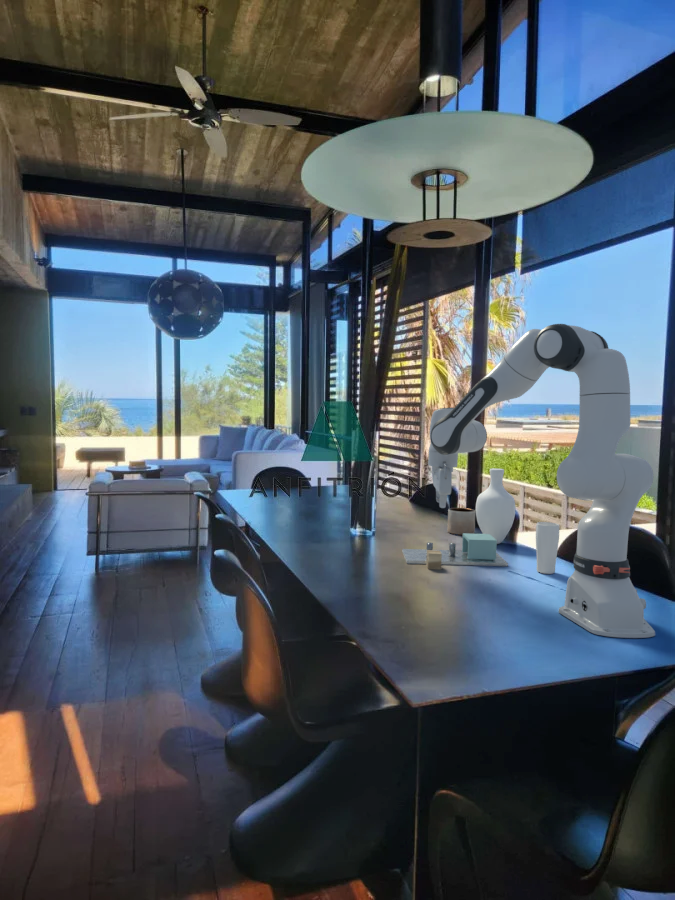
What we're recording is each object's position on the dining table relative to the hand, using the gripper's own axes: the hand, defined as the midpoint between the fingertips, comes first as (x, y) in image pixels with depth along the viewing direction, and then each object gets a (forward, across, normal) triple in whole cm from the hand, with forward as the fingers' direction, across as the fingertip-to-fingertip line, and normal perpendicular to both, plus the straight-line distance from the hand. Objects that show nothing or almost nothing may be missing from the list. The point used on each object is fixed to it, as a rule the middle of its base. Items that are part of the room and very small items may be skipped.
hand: (440, 504), depth 181 cm
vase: (+20, +39, -25) cm, 50 cm away
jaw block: (+20, 0, +1) cm, 20 cm away
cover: (+18, +12, -14) cm, 27 cm away
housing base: (+20, +12, -6) cm, 24 cm away
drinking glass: (+20, -1, -33) cm, 38 cm away
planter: (+21, +56, -15) cm, 62 cm away
